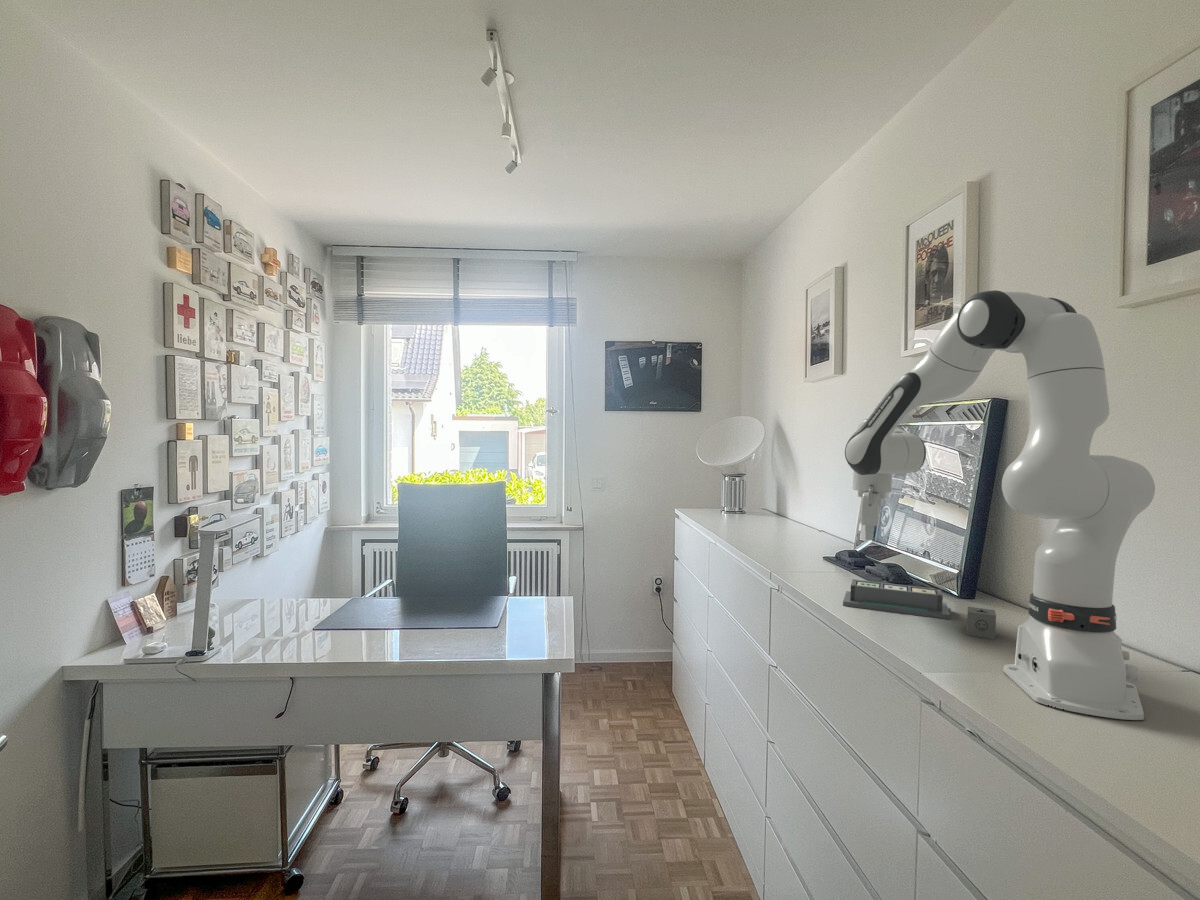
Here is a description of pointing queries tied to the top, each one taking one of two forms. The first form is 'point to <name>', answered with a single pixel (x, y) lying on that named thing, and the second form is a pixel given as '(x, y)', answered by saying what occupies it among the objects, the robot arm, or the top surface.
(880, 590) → the grey slotted tray
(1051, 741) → the top surface
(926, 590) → the sand key
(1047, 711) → the top surface
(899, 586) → the grey key
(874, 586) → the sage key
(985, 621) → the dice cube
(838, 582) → the top surface
